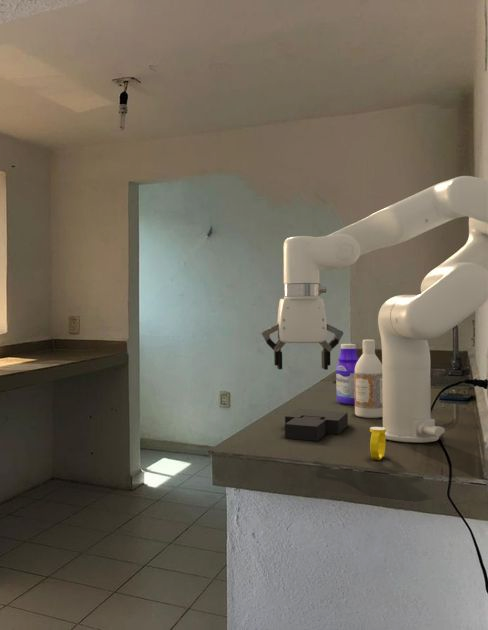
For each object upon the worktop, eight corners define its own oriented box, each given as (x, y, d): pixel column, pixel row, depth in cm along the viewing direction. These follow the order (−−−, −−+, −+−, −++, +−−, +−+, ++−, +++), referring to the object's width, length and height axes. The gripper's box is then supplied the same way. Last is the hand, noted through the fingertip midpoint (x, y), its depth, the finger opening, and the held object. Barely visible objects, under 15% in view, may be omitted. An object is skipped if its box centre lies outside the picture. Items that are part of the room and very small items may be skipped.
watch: (374, 454, 130) (374, 424, 130) (389, 456, 128) (389, 426, 128) (366, 460, 125) (366, 429, 125) (381, 462, 123) (381, 431, 123)
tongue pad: (328, 431, 152) (328, 417, 152) (317, 441, 143) (317, 426, 143) (297, 428, 156) (297, 415, 156) (284, 438, 146) (284, 423, 146)
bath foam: (349, 415, 171) (348, 340, 171) (365, 412, 175) (364, 338, 175) (373, 419, 166) (372, 341, 165) (389, 416, 169) (389, 339, 169)
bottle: (332, 402, 193) (331, 343, 193) (348, 401, 195) (347, 343, 194) (349, 406, 186) (349, 345, 186) (366, 404, 188) (365, 344, 188)
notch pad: (347, 425, 159) (347, 412, 159) (338, 434, 149) (338, 420, 149) (297, 421, 166) (297, 408, 166) (285, 429, 156) (284, 416, 155)
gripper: (338, 291, 147) (338, 367, 147) (259, 293, 150) (259, 367, 150) (346, 291, 140) (347, 370, 140) (263, 292, 143) (263, 370, 143)
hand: (302, 368), depth 145 cm, fingers open, 9 cm apart
